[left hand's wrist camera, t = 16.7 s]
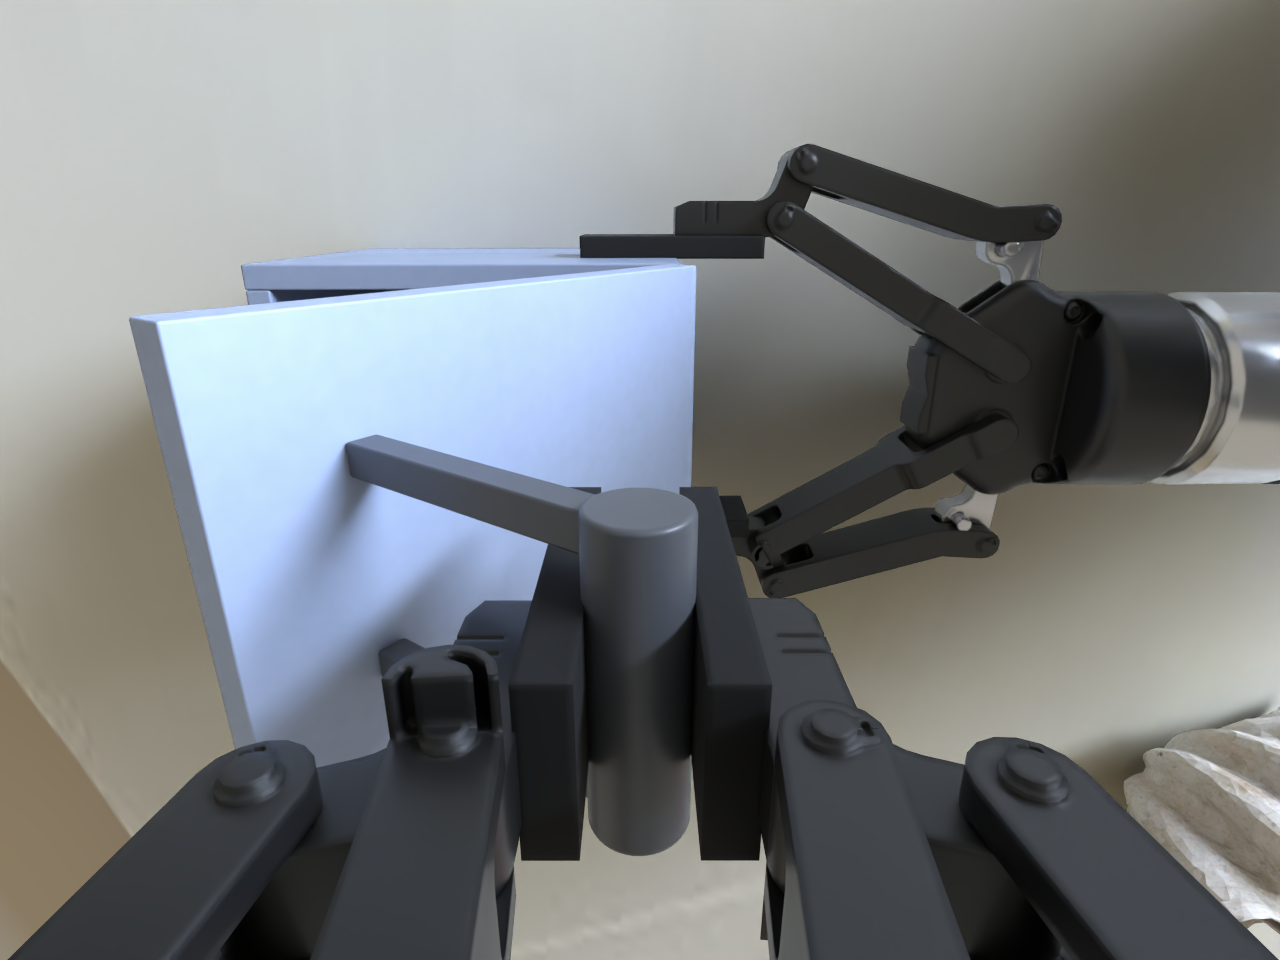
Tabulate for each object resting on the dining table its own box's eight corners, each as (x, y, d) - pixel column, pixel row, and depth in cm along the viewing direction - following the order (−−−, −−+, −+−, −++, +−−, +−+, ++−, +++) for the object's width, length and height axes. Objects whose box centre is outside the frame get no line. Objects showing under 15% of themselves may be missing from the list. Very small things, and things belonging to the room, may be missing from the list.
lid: (254, 829, 14) (561, 1113, 10) (126, 316, 11) (515, 388, 6) (666, 559, 26) (898, 633, 21) (670, 264, 22) (950, 276, 18)
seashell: (1052, 724, 42) (1170, 871, 33) (1320, 658, 40) (1526, 791, 31) (1071, 850, 45) (1183, 1016, 36) (1320, 794, 44) (1504, 951, 34)
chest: (395, 457, 36) (294, 556, 26) (368, 248, 33) (239, 264, 22) (666, 457, 36) (677, 555, 26) (668, 248, 33) (682, 263, 22)
